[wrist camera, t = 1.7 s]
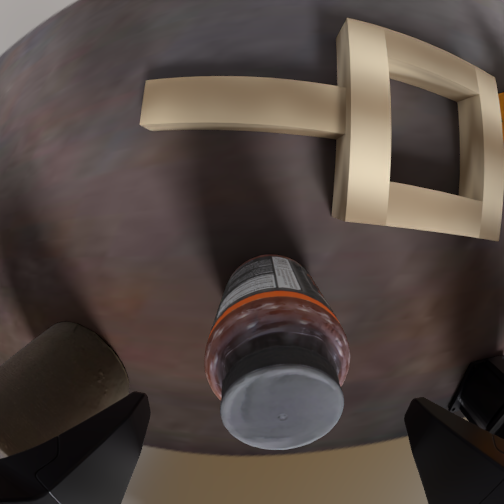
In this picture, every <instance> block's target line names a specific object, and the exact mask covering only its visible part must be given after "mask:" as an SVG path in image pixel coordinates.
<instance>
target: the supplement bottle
mask: <svg viewBox="0 0 504 504" xmlns="http://www.w3.org/2000/svg"><path fill="white" fill-rule="evenodd" d="M349 362H350V350H349V343H348V341H347V337H346V334H345V333H344V330H343V328H342V327H341V325H340V323H339V322H338V320H337V318H336V315H335V314H334V313H333V311H332V309H331V308H330V306H329V304H328V303H327V302H326V300H325V299H324V297H323V295H322V294H321V292H320V291H319V289H318V287H317V286H316V284H315V282H314V281H313V279H312V277H311V276H310V275H309V273H308V272H307V271H306V270H305V269H304V268H303V267H302V266H301V265H300V264H299V263H297V262H296V261H294V260H292V259H290V258H288V257H285V256H281V255H273V254H267V255H261V256H257V257H254V258H252V259H250V260H248V261H246V262H244V263H243V264H242V265H241V266H239V267H238V268H237V269H236V270H235V272H234V273H233V274H232V275H231V277H230V279H229V281H228V283H227V285H226V288H225V291H224V294H223V297H222V300H221V303H220V305H219V308H218V311H217V314H216V317H215V320H214V323H213V326H212V329H211V332H210V336H209V339H208V342H207V345H206V351H205V359H204V367H205V373H206V377H207V380H208V382H209V385H210V387H211V388H212V390H213V392H214V393H215V395H216V396H217V397H218V398H219V399H220V400H221V404H220V415H221V418H222V421H223V424H224V426H225V427H226V428H227V430H228V431H229V432H230V433H231V434H232V435H233V436H234V437H235V438H237V439H238V440H240V441H242V442H243V443H246V444H248V445H250V446H254V447H258V448H262V449H270V450H286V449H291V448H296V447H300V446H303V445H306V444H310V443H312V442H313V441H315V440H317V439H319V438H321V437H322V436H324V435H325V434H327V433H328V432H329V431H330V430H331V429H332V428H333V427H334V426H335V424H336V423H337V422H338V420H339V418H340V416H341V414H342V411H343V406H344V397H343V392H342V389H341V386H342V384H343V382H344V380H345V378H346V375H347V373H348V369H349V365H350V363H349Z"/></svg>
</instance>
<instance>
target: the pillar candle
mask: <svg viewBox="0 0 504 504" xmlns="http://www.w3.org/2000/svg"><path fill="white" fill-rule="evenodd" d="M128 393H129V380H128V377H127V373H126V371H125V369H124V367H123V364H122V363H121V362H120V360H119V358H118V357H117V355H116V354H115V353H114V352H113V350H112V349H111V348H110V347H109V346H108V345H107V344H106V343H105V342H104V341H103V340H102V339H101V338H100V337H99V336H98V335H96V333H94V332H92V331H90V330H89V329H87V328H85V327H83V326H81V325H78V324H76V323H71V322H60V323H56V324H54V325H53V326H51V327H50V328H49V329H47V330H46V331H45V332H43V333H42V334H41V335H39V336H38V337H36V338H35V339H34V340H33V341H31V342H30V343H29V344H27V345H26V346H25V347H24V348H22V349H21V350H20V351H18V352H17V353H16V354H15V355H13V356H12V357H11V358H10V359H8V360H7V361H6V362H5V363H3V364H2V365H1V366H0V459H1V458H5V457H8V456H11V455H14V454H17V453H19V452H22V451H25V450H28V449H30V448H33V447H35V446H38V445H40V444H42V443H44V442H46V441H48V440H50V439H52V438H54V437H56V436H58V435H59V434H61V433H63V432H65V431H67V430H69V429H71V428H72V427H74V426H76V425H78V424H80V423H81V422H83V421H85V420H87V419H88V418H90V417H92V416H94V415H95V414H97V413H99V412H101V411H102V410H104V409H106V408H107V407H109V406H111V405H112V404H114V403H116V402H117V401H119V400H121V399H122V398H124V397H126V396H127V395H128Z"/></svg>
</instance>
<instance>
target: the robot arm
mask: <svg viewBox="0 0 504 504" xmlns="http://www.w3.org/2000/svg"><path fill="white" fill-rule="evenodd" d="M448 410H449V411H448ZM448 410H446V409H444V408H442V407H440V406H439V405H437V404H435V403H433V402H431V401H430V400H428V399H426V398H424V397H420V398H415V399H413V400H412V401H411V403H410V405H409V407H408V410H407V412H406V414H405V417H404V421H405V425H406V429H407V433H408V437H409V442H410V446H411V450H412V453H413V457H414V459H415V463H416V466H417V469H418V472H419V475H420V478H421V481H422V484H423V487H424V490H425V494H426V497H427V500H428V504H504V355H500V356H496V357H492V358H488V359H485V360H480V361H476V362H473V363H471V364H470V365H469V367H468V370H467V372H466V374H465V376H464V379H463V381H462V383H461V385H460V387H459V389H458V391H457V393H456V395H455V397H454V399H453V401H452V403H451V405H450V407H449V409H448ZM459 410H460V411H461V412H462V413H463V414H464V416H465V417H466V418H467V420H468V421H467V420H465V419H463V418H461V417H459V416H457V415H455V414H453V412H456V411H459ZM149 419H150V407H149V402H148V397H147V395H146V394H145V393H141V392H137V391H135V392H132V393H131V394H129V395H127V396H126V397H124V398H122V399H121V400H119V401H117V402H116V403H114V404H112V405H111V406H109V407H107V408H106V409H104V410H102V411H101V412H99V413H97V414H95V415H94V416H92V417H90V418H88V419H87V420H85V421H83V422H81V423H80V424H78V425H76V426H74V427H72V428H71V429H69V430H67V431H65V432H63V433H61V434H59V435H58V436H56V437H54V438H52V439H50V440H48V441H46V442H44V443H42V444H40V445H38V446H35V447H33V448H30V449H28V450H25V451H22V452H19V453H17V454H14V455H11V456H8V457H5V458H1V459H0V504H121V502H122V499H123V497H124V494H125V492H126V489H127V487H128V484H129V481H130V479H131V476H132V473H133V471H134V469H135V466H136V464H137V461H138V459H139V456H140V453H141V450H142V446H143V442H144V438H145V434H146V430H147V427H148V423H149Z"/></svg>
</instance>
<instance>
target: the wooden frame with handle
mask: <svg viewBox="0 0 504 504" xmlns="http://www.w3.org/2000/svg"><path fill="white" fill-rule="evenodd" d="M336 50H337V86H333V85H327V84H321V83H314V82H307V81H298V80H289V79H279V78H265V77H246V76H197V77H178V78H165V79H154V80H146V84H145V90H144V96H143V103H142V111H141V119H140V125H141V126H143V127H145V128H147V129H148V130H150V131H162V130H239V131H258V132H272V133H284V134H295V135H304V136H313V137H321V138H328V139H335V140H336V159H335V177H334V191H333V204H332V215H331V216H332V217H334V218H337V219H340V220H343V221H347V222H357V223H366V224H376V225H384V226H393V227H402V228H410V229H418V230H425V231H433V232H440V233H448V234H455V235H461V236H468V237H475V238H481V239H487V240H493V241H499V235H500V227H501V218H502V206H503V190H504V148H503V132H502V121H501V112H500V104H499V97H498V91H497V85H496V80H495V77H493V76H491V75H490V74H488V73H486V72H485V71H483V70H481V69H479V68H478V67H476V66H474V65H472V64H470V63H469V62H467V61H465V60H463V59H461V58H459V57H457V56H455V55H453V54H451V53H449V52H447V51H444V50H442V49H440V48H438V47H435V46H433V45H431V44H428V43H426V42H424V41H421V40H419V39H416V38H413V37H411V36H408V35H405V34H402V33H399V32H396V31H393V30H390V29H387V28H384V27H381V26H377V25H374V24H370V23H366V22H363V21H359V20H355V19H350V18H347V19H346V21H345V23H344V24H343V26H342V28H341V30H340V32H339V34H338V36H337V37H336ZM389 78H390V79H394V80H397V81H400V82H404V83H407V84H410V85H413V86H416V87H419V88H422V89H425V90H428V91H430V92H433V93H436V94H438V95H441V96H443V97H446V98H448V99H451V100H453V101H456V102H457V104H458V116H459V133H460V180H459V196H458V195H453V194H449V193H445V192H440V191H436V190H431V189H426V188H422V187H417V186H412V185H406V184H401V183H395V182H390V165H391V98H390V80H389Z"/></svg>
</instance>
